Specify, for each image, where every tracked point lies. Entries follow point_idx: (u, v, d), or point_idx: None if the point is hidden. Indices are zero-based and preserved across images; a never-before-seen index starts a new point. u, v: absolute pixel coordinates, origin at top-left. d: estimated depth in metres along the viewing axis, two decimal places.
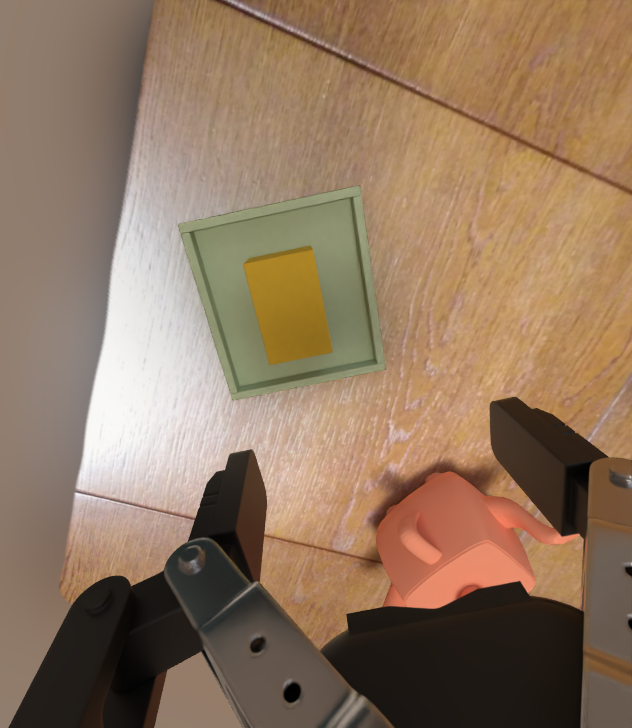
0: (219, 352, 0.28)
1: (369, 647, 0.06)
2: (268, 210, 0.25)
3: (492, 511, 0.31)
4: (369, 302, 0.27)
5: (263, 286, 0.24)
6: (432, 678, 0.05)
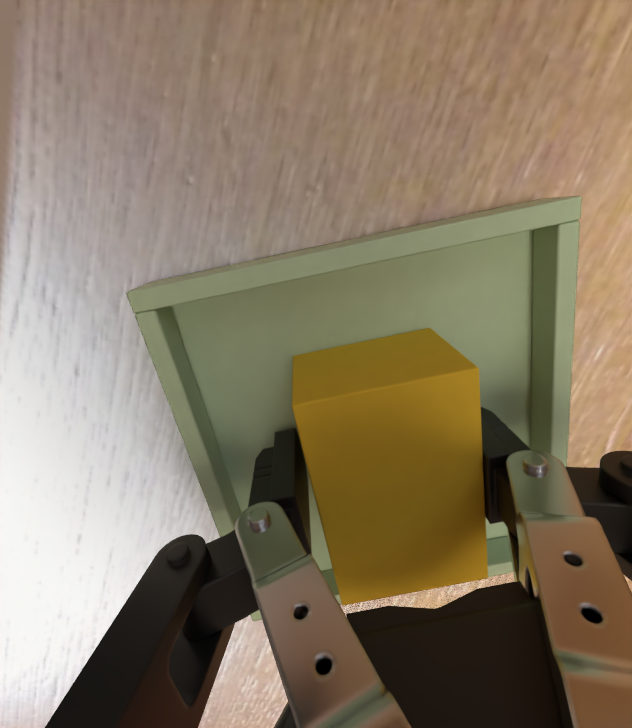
0: None
1: (369, 647, 0.06)
2: (349, 258, 0.10)
3: None
4: (553, 447, 0.13)
5: (341, 455, 0.10)
6: (432, 678, 0.05)
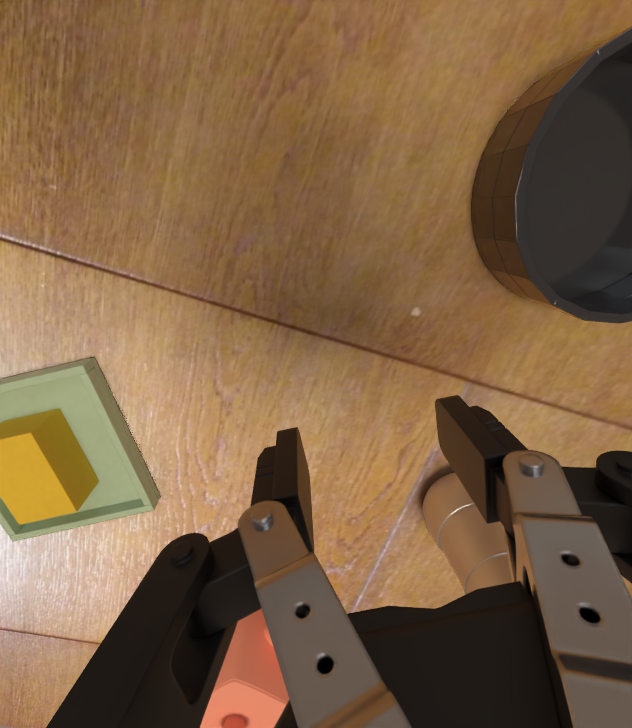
0: None
1: (369, 647, 0.06)
2: (0, 389, 0.27)
3: (266, 636, 0.32)
4: (121, 457, 0.29)
5: None
6: (432, 678, 0.05)
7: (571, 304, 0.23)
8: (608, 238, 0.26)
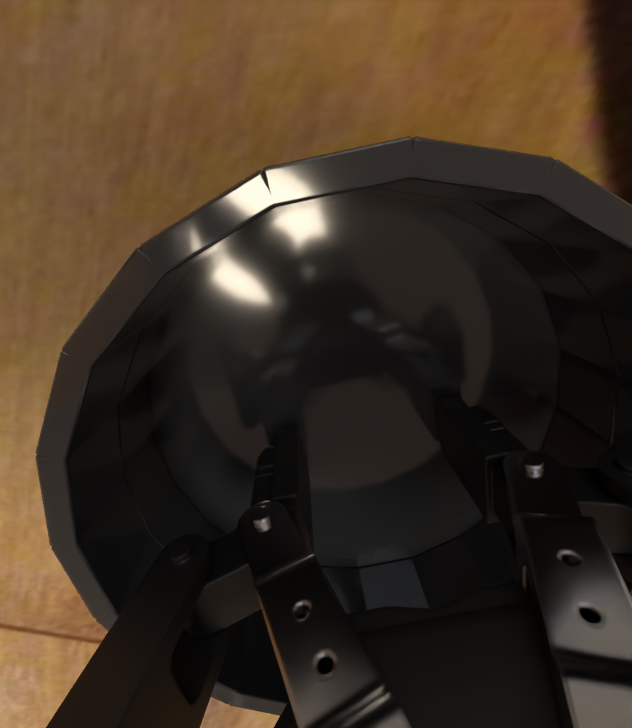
0: None
1: (369, 647, 0.06)
2: None
3: None
4: None
5: None
6: (432, 678, 0.05)
7: (268, 701, 0.11)
8: (413, 485, 0.14)
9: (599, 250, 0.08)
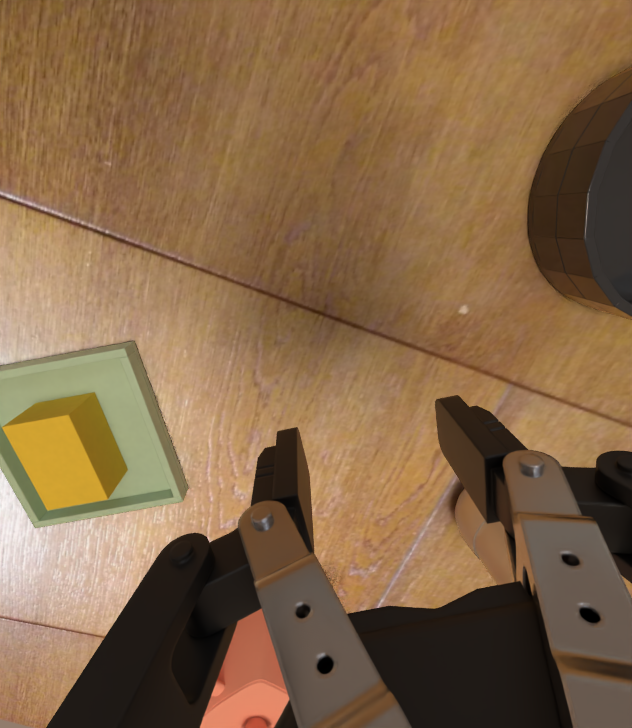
0: (13, 488, 0.29)
1: (369, 647, 0.06)
2: (37, 369, 0.26)
3: None
4: (154, 445, 0.28)
5: (26, 445, 0.25)
6: (432, 678, 0.05)
7: None
8: None
9: None
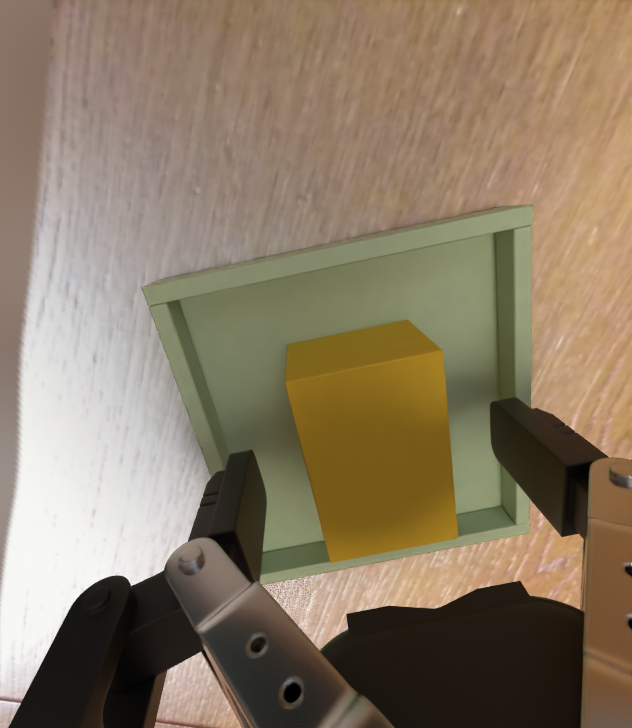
0: None
1: (369, 647, 0.06)
2: (334, 258, 0.12)
3: None
4: None
5: (327, 426, 0.11)
6: (432, 678, 0.05)
7: None
8: None
9: None
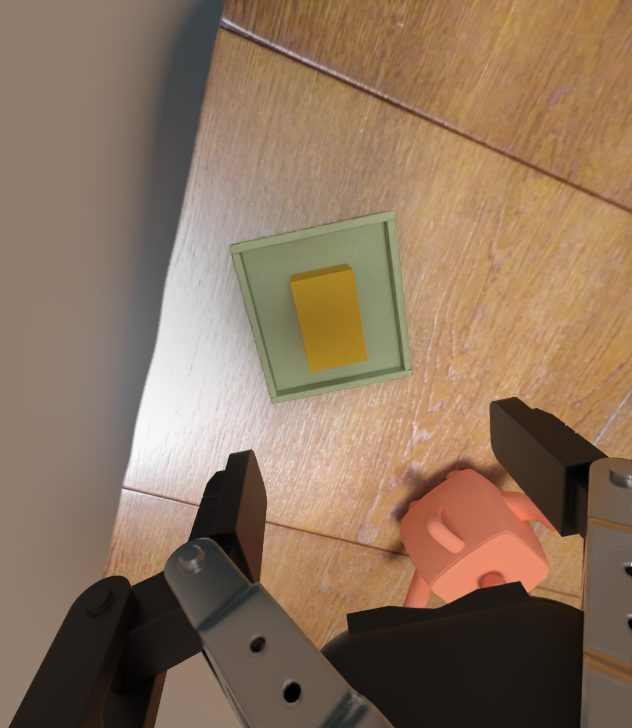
0: (262, 360, 0.31)
1: (369, 647, 0.06)
2: (311, 233, 0.28)
3: (509, 505, 0.33)
4: (399, 314, 0.30)
5: (307, 302, 0.27)
6: (432, 678, 0.05)
7: None
8: None
9: None
